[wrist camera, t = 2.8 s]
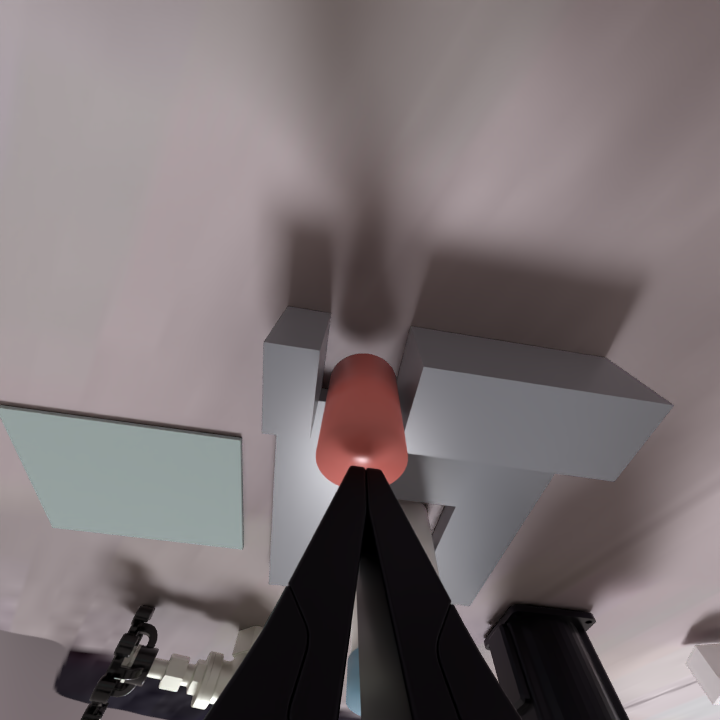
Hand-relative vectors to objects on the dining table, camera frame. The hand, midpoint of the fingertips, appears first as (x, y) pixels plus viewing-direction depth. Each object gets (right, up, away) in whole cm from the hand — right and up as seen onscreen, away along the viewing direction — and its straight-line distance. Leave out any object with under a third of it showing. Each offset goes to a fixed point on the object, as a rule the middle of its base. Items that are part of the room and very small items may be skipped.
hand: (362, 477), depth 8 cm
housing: (+2, -4, +10) cm, 11 cm away
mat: (-13, -4, +10) cm, 17 cm away
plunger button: (0, +2, +4) cm, 5 cm away
